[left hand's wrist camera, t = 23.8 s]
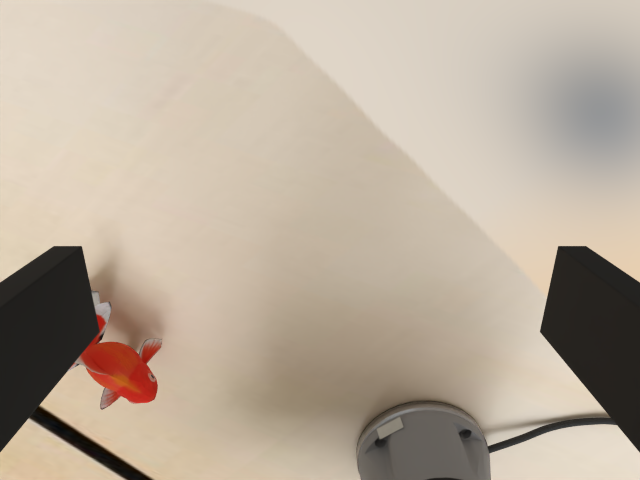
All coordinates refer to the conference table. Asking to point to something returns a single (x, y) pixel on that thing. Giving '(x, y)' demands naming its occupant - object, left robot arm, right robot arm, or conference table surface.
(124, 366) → the fish
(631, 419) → the left robot arm
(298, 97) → the conference table surface
